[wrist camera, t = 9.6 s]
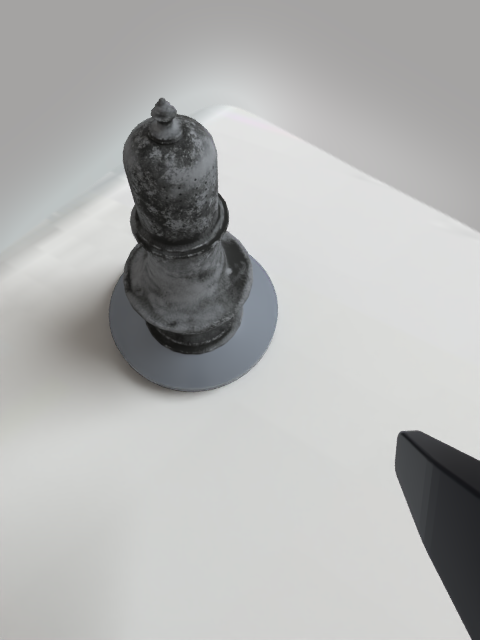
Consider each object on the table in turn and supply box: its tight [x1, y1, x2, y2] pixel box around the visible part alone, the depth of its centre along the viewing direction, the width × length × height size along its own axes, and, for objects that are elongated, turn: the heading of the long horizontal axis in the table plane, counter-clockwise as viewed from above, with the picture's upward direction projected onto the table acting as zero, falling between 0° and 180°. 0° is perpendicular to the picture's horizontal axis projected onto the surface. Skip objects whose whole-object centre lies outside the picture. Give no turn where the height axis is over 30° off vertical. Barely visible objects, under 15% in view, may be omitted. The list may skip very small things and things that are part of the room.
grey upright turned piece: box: [123, 98, 253, 354], centre depth 16 cm, size 6×6×12 cm
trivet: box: [109, 255, 278, 392], centre depth 22 cm, size 9×9×1 cm
